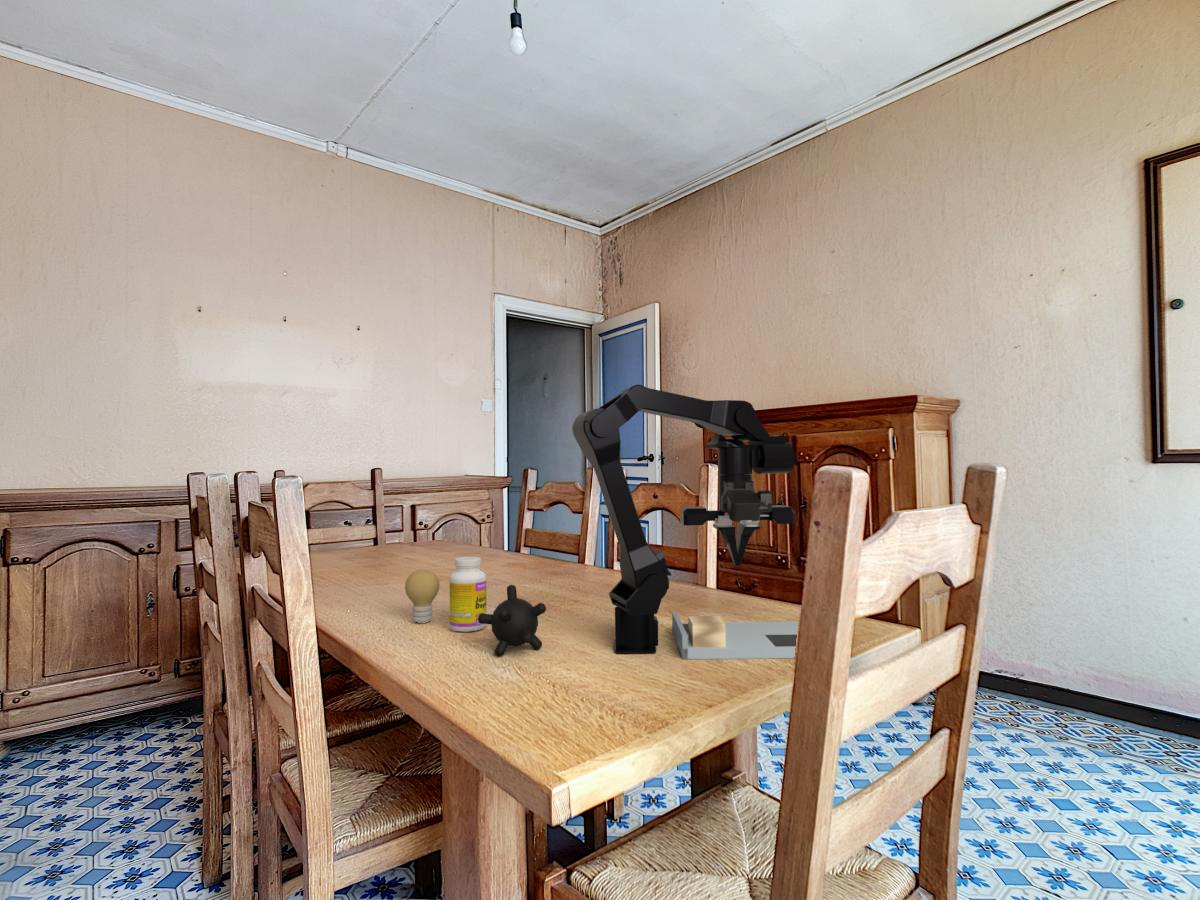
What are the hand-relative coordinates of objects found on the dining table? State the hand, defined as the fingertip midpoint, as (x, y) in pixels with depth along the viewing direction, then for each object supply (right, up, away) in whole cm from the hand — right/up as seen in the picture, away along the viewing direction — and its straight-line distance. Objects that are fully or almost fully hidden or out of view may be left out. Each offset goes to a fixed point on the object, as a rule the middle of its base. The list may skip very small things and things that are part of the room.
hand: (737, 565), depth 104 cm
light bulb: (-58, -13, +13) cm, 60 cm away
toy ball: (-37, -13, -6) cm, 39 cm away
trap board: (+1, -12, -5) cm, 13 cm away
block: (-7, -10, -9) cm, 15 cm away
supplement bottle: (-48, -13, +7) cm, 50 cm away
